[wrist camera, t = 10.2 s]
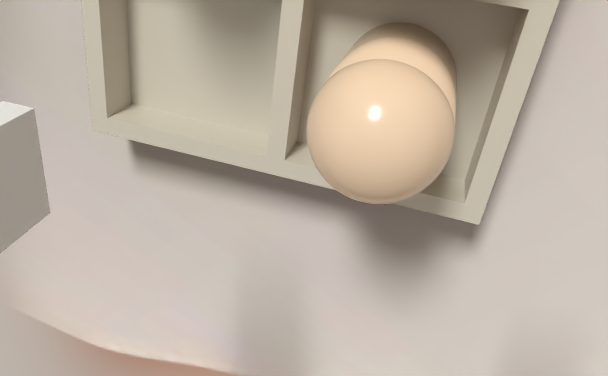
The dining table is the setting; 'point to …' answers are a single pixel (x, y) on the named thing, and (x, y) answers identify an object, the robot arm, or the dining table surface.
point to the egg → (386, 115)
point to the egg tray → (301, 79)
